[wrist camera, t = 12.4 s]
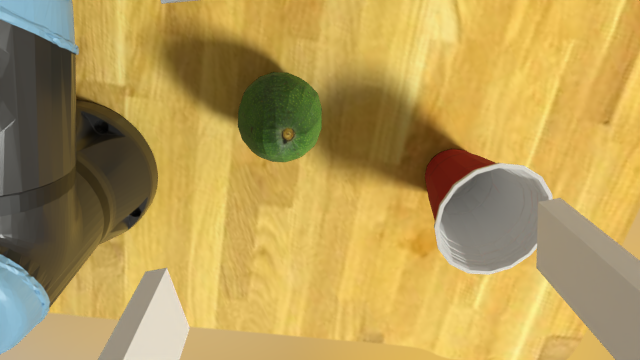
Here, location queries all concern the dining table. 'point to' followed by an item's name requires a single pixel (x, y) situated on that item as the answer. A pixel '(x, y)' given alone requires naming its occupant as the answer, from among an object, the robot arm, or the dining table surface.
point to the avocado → (280, 117)
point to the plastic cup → (483, 210)
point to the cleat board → (172, 0)
